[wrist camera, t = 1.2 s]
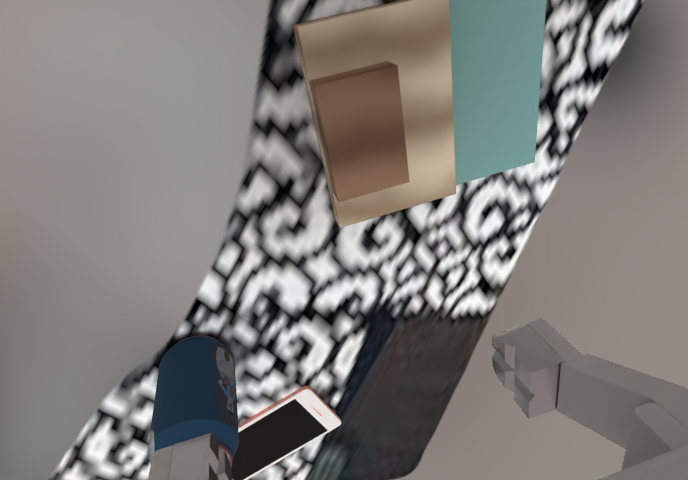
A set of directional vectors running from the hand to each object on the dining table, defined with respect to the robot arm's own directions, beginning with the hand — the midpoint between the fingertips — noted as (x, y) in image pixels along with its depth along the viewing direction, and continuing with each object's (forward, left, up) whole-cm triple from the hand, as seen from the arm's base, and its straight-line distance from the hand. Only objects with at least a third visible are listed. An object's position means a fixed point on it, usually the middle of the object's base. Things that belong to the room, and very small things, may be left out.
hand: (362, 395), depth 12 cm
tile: (+1, +7, -24) cm, 25 cm away
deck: (+1, +9, -26) cm, 28 cm away
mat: (+1, +20, -26) cm, 32 cm away
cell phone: (+36, -11, -26) cm, 46 cm away
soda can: (+20, -13, -26) cm, 35 cm away
